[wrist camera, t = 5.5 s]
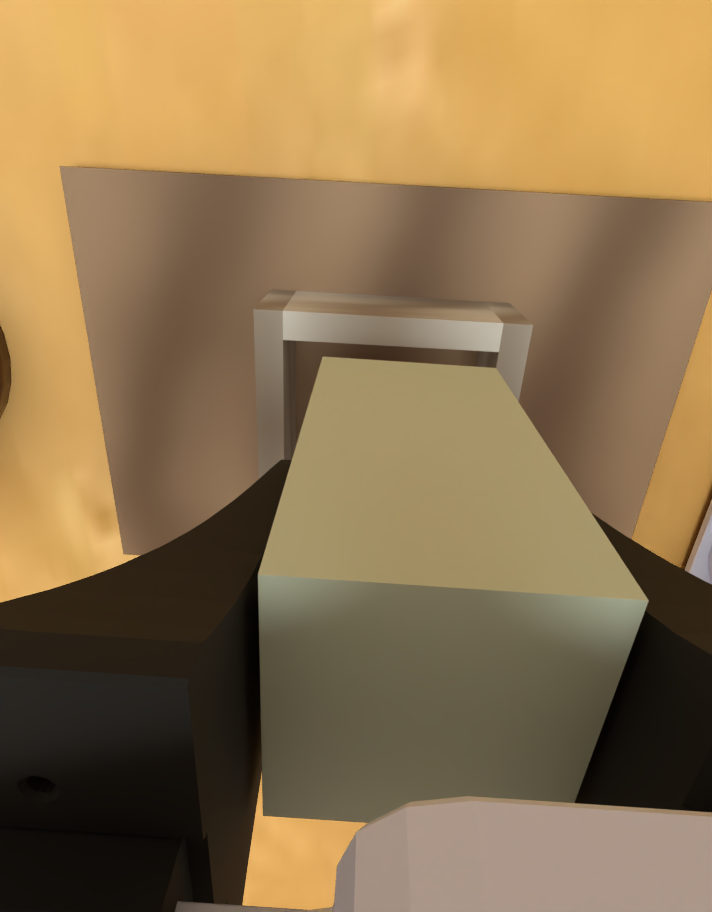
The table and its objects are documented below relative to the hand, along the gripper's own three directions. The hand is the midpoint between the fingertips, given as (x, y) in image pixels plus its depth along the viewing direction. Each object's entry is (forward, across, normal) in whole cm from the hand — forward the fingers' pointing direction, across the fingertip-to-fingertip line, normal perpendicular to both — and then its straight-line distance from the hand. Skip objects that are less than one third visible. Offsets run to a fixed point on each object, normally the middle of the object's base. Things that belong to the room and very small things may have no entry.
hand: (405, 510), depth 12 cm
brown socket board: (+9, 0, +1) cm, 9 cm away
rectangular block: (+3, 0, 0) cm, 3 cm away
